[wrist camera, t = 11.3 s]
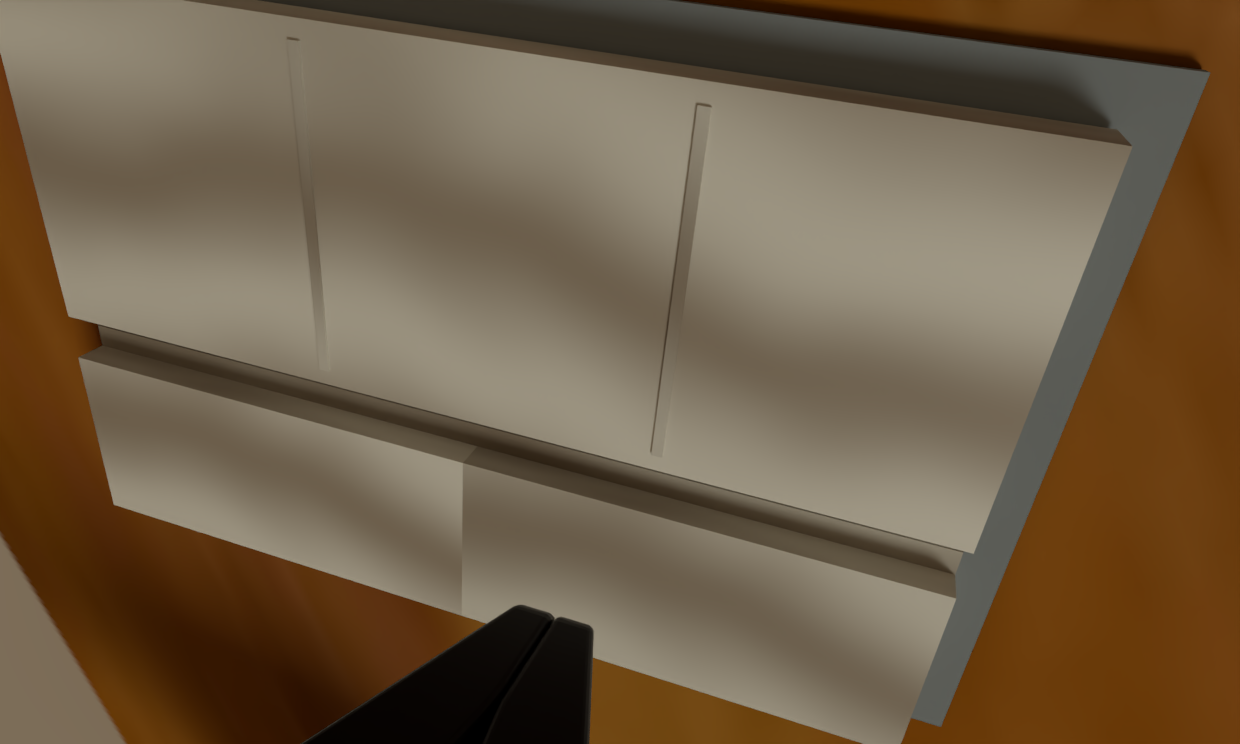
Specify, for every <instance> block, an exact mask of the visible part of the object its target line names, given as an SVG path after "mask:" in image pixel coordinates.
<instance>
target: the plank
mask: <svg viewBox="0 0 1240 744" xmlns="http://www.w3.org/2000/svg"><path fill="white" fill-rule="evenodd" d="M0 53H1V57H2V61H3V64H4V68H5V72H6V76H7V80H8V84H9V88H10V92H11V95H12V99H13V103H14V107H15V111H16V115H17V119H18V123H19V126H20V130H21V134H22V138H23V142H24V146H25V150H26V154H27V157H28V161H29V165H30V169H31V173H32V177H33V181H34V184H35V188H36V192H37V196H38V200H39V204H40V208H41V212H42V215H43V219H44V223H45V227H46V231H47V235H48V239H49V243H50V246H51V250H52V254H53V258H54V262H55V266H56V270H57V273H58V277H59V281H60V285H61V289H62V293H63V297H64V301H65V304H66V308H67V312H68V316H69V317H73V318H77V319H80V320H84V321H88V322H92V323H96V324H99V325H103V326H107V327H111V328H115V329H118V330H122V331H126V332H130V333H134V334H138V335H141V336H145V337H149V338H153V339H157V340H160V341H164V342H168V343H172V344H176V345H179V346H183V347H187V348H191V349H195V350H199V351H202V352H206V353H210V354H214V355H218V356H221V357H225V358H229V359H233V360H237V361H240V362H244V363H248V364H252V365H256V366H259V367H263V368H267V369H271V370H275V371H279V372H282V373H286V374H290V375H294V376H298V377H301V378H305V379H309V380H313V381H317V382H320V383H324V384H328V385H332V386H336V387H340V388H343V389H347V390H351V391H355V392H359V393H362V394H366V395H370V396H374V397H378V398H381V399H385V400H389V401H393V402H397V403H401V404H404V405H408V406H412V407H416V408H420V409H423V410H427V411H431V412H435V413H439V414H442V415H446V416H450V417H454V418H458V419H462V420H465V421H469V422H473V423H477V424H481V425H484V426H488V427H492V428H496V429H500V430H503V431H507V432H511V433H515V434H519V435H523V436H526V437H530V438H534V439H538V440H542V441H545V442H549V443H553V444H557V445H561V446H564V447H568V448H572V449H576V450H580V451H584V452H587V453H591V454H595V455H599V456H603V457H606V458H610V459H614V460H618V461H622V462H625V463H629V464H633V465H637V466H641V467H645V468H648V469H652V470H656V471H660V472H664V473H667V474H671V475H675V476H679V477H683V478H686V479H690V480H694V481H698V482H702V483H706V484H709V485H713V486H717V487H721V488H725V489H728V490H732V491H736V492H740V493H744V494H747V495H751V496H755V497H759V498H763V499H767V500H770V501H774V502H778V503H782V504H786V505H789V506H793V507H797V508H801V509H805V510H808V511H812V512H816V513H820V514H824V515H827V516H831V517H835V518H839V519H843V520H847V521H850V522H854V523H858V524H862V525H866V526H869V527H873V528H877V529H881V530H885V531H888V532H892V533H896V534H900V535H904V536H908V537H911V538H915V539H919V540H923V541H927V542H930V543H934V544H938V545H942V546H946V547H949V548H953V549H957V550H961V551H965V552H969V553H972V554H974V552H975V549H976V547H977V544H978V541H979V539H980V536H981V534H982V531H983V529H984V526H985V524H986V521H987V518H988V516H989V513H990V511H991V508H992V506H993V503H994V500H995V498H996V495H997V493H998V490H999V488H1000V485H1001V483H1002V480H1003V477H1004V475H1005V472H1006V470H1007V467H1008V465H1009V462H1010V459H1011V457H1012V454H1013V452H1014V449H1015V447H1016V444H1017V442H1018V439H1019V436H1020V434H1021V431H1022V429H1023V426H1024V424H1025V421H1026V418H1027V416H1028V413H1029V411H1030V408H1031V406H1032V403H1033V401H1034V398H1035V395H1036V393H1037V390H1038V388H1039V385H1040V383H1041V380H1042V378H1043V375H1044V372H1045V370H1046V367H1047V365H1048V362H1049V360H1050V357H1051V354H1052V352H1053V349H1054V347H1055V344H1056V342H1057V339H1058V337H1059V334H1060V331H1061V329H1062V326H1063V324H1064V321H1065V319H1066V316H1067V313H1068V311H1069V308H1070V306H1071V303H1072V301H1073V298H1074V296H1075V293H1076V290H1077V288H1078V285H1079V283H1080V280H1081V278H1082V275H1083V272H1084V270H1085V267H1086V265H1087V262H1088V260H1089V257H1090V255H1091V252H1092V249H1093V247H1094V244H1095V242H1096V239H1097V237H1098V234H1099V232H1100V229H1101V226H1102V224H1103V221H1104V219H1105V216H1106V214H1107V211H1108V208H1109V206H1110V203H1111V201H1112V198H1113V196H1114V193H1115V191H1116V188H1117V185H1118V183H1119V180H1120V178H1121V175H1122V173H1123V170H1124V167H1125V165H1126V162H1127V160H1128V157H1129V155H1130V152H1131V150H1132V147H1133V146H1132V145H1131V144H1130V143H1129V142H1128V141H1127V139H1126V138H1125V137H1124V136H1123V135H1122V134H1121V133H1120V132H1119V131H1118V130H1117V129H1111V128H1104V127H1097V126H1091V125H1084V124H1077V123H1071V122H1064V121H1057V120H1051V119H1044V118H1038V117H1031V116H1024V115H1018V114H1011V113H1004V112H998V111H991V110H984V109H978V108H971V107H964V106H958V105H951V104H944V103H938V102H931V101H924V100H918V99H911V98H904V97H898V96H891V95H885V94H878V93H871V92H865V91H858V90H851V89H845V88H838V87H831V86H825V85H818V84H811V83H805V82H798V81H791V80H785V79H778V78H771V77H765V76H758V75H751V74H745V73H738V72H732V71H725V70H718V69H712V68H705V67H698V66H692V65H685V64H678V63H672V62H665V61H658V60H652V59H645V58H638V57H632V56H625V55H618V54H612V53H605V52H598V51H592V50H585V49H579V48H572V47H565V46H559V45H552V44H545V43H539V42H532V41H525V40H519V39H512V38H505V37H499V36H492V35H485V34H479V33H472V32H465V31H459V30H452V29H445V28H439V27H432V26H426V25H419V24H412V23H406V22H399V21H392V20H386V19H379V18H372V17H366V16H359V15H352V14H346V13H339V12H332V11H326V10H319V9H312V8H306V7H299V6H292V5H286V4H279V3H273V2H266V1H259V0H0Z"/></svg>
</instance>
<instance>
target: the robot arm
mask: <svg viewBox="0 0 1240 744" xmlns="http://www.w3.org/2000/svg"><path fill="white" fill-rule="evenodd" d="M593 641H594V631H593V628H592V627H591V626H590V625H588V624H585V623H581V622H578V621H575V620H572V619H568V618H565V617H557V618H556V619H555V618H554V616H553V615H552V614H551V613H549V612H546V611H542V610H539V609H536V608H532V607H529V606H526V605H516V606H513V607H512V608H510V609H508V610H507V611H505V612H504V613H502V614H501V615H499V616H498V617H496V618H494V619H493V620H491V621H490V622H488V623H487V624H485V625H484V626H482V627H481V628H479V629H477V630H476V631H474V632H473V633H471V634H470V635H468V636H467V637H465V638H464V639H462V640H460V641H459V642H457V643H456V644H454V645H453V646H451V647H450V648H448V649H447V650H445V651H443V652H442V653H440V654H439V655H437V656H436V657H434V658H433V659H431V660H429V661H428V662H426V663H425V664H423V665H422V666H420V667H419V668H417V669H416V670H414V671H412V672H411V673H409V674H408V675H406V676H405V677H403V678H402V679H400V680H399V681H397V682H395V683H394V684H392V685H391V686H389V687H388V688H386V689H385V690H383V691H382V692H380V693H378V694H377V695H375V696H374V697H372V698H371V699H369V700H368V701H366V702H365V703H363V704H361V705H360V706H358V707H357V708H355V709H354V710H352V711H351V712H349V713H347V714H346V715H344V716H343V717H341V718H340V719H338V720H337V721H335V722H334V723H332V724H330V725H329V726H327V727H326V728H324V729H323V730H321V731H320V732H318V733H317V734H315V735H313V736H312V737H310V738H309V739H307V740H306V741H304V742H303V743H301V744H589V735H590V712H591V688H592V664H593Z"/></svg>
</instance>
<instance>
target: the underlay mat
mask: <svg viewBox="0 0 1240 744" xmlns="http://www.w3.org/2000/svg"><path fill="white" fill-rule="evenodd" d="M259 1H266V2H273V3H279V4H286V5H292V6H299V7H306V8H312V9H319V10H326V11H332V12H339V13H346V14H352V15H359V16H366V17H372V18H379V19H386V20H392V21H399V22H406V23H412V24H419V25H426V26H432V27H439V28H445V29H452V30H459V31H465V32H472V33H479V34H485V35H492V36H499V37H505V38H512V39H519V40H525V41H532V42H539V43H545V44H552V45H559V46H565V47H572V48H579V49H585V50H592V51H598V52H605V53H612V54H618V55H625V56H632V57H638V58H645V59H652V60H658V61H665V62H672V63H678V64H685V65H692V66H698V67H705V68H712V69H718V70H725V71H732V72H738V73H745V74H751V75H758V76H765V77H771V78H778V79H785V80H791V81H798V82H805V83H811V84H818V85H825V86H831V87H838V88H845V89H851V90H858V91H865V92H871V93H878V94H885V95H891V96H898V97H904V98H911V99H918V100H924V101H931V102H938V103H944V104H951V105H958V106H964V107H971V108H978V109H984V110H991V111H998V112H1004V113H1011V114H1018V115H1024V116H1031V117H1038V118H1044V119H1051V120H1057V121H1064V122H1071V123H1077V124H1084V125H1091V126H1097V127H1104V128H1111V129H1117V130H1118V131H1119V132H1120V133H1121V134H1122V135H1123V136H1124V137H1125V138H1126V139H1127V141H1128V142H1129V143H1130V144H1131V145H1132V146H1133V147H1132V150H1131V152H1130V155H1129V157H1128V160H1127V162H1126V165H1125V167H1124V170H1123V173H1122V175H1121V178H1120V180H1119V183H1118V185H1117V188H1116V191H1115V193H1114V196H1113V198H1112V201H1111V203H1110V206H1109V208H1108V211H1107V214H1106V216H1105V219H1104V221H1103V224H1102V226H1101V229H1100V232H1099V234H1098V237H1097V239H1096V242H1095V244H1094V247H1093V249H1092V252H1091V255H1090V257H1089V260H1088V262H1087V265H1086V267H1085V270H1084V272H1083V275H1082V278H1081V280H1080V283H1079V285H1078V288H1077V290H1076V293H1075V296H1074V298H1073V301H1072V303H1071V306H1070V308H1069V311H1068V313H1067V316H1066V319H1065V321H1064V324H1063V326H1062V329H1061V331H1060V334H1059V337H1058V339H1057V342H1056V344H1055V347H1054V349H1053V352H1052V354H1051V357H1050V360H1049V362H1048V365H1047V367H1046V370H1045V372H1044V375H1043V378H1042V380H1041V383H1040V385H1039V388H1038V390H1037V393H1036V395H1035V398H1034V401H1033V403H1032V406H1031V408H1030V411H1029V413H1028V416H1027V418H1026V421H1025V424H1024V426H1023V429H1022V431H1021V434H1020V436H1019V439H1018V442H1017V444H1016V447H1015V449H1014V452H1013V454H1012V457H1011V459H1010V462H1009V465H1008V467H1007V470H1006V472H1005V475H1004V477H1003V480H1002V483H1001V485H1000V488H999V490H998V493H997V495H996V498H995V500H994V503H993V506H992V508H991V511H990V513H989V516H988V518H987V521H986V524H985V526H984V529H983V531H982V534H981V536H980V539H979V541H978V544H977V547H976V549H975V552H974V554H972V553H969V552H965V551H963V555H962V558H961V561H960V563H959V566H958V569H957V571H956V574H955V581H956V601H955V604H954V606H953V609H952V612H951V614H950V617H949V619H948V622H947V625H946V627H945V630H944V632H943V635H942V638H941V640H940V643H939V645H938V648H937V651H936V653H935V656H934V658H933V661H932V664H931V666H930V669H929V671H928V674H927V677H926V679H925V682H924V684H923V687H922V690H921V692H920V695H919V697H918V700H917V703H916V705H915V708H914V711H913V713H912V716H911V718H914V719H917V720H920V721H923V722H927V723H930V724H933V725H936V726H940V727H941V725H942V723H943V720H944V718H945V715H946V713H947V710H948V708H949V706H950V703H951V701H952V698H953V696H954V693H955V691H956V689H957V686H958V684H959V681H960V679H961V676H962V674H963V672H964V669H965V667H966V664H967V662H968V659H969V657H970V655H971V652H972V650H973V647H974V645H975V642H976V640H977V638H978V635H979V633H980V630H981V628H982V625H983V623H984V621H985V618H986V616H987V613H988V611H989V608H990V606H991V604H992V601H993V599H994V596H995V594H996V592H997V589H998V587H999V584H1000V582H1001V579H1002V577H1003V575H1004V572H1005V570H1006V567H1007V565H1008V562H1009V560H1010V558H1011V555H1012V553H1013V550H1014V548H1015V545H1016V543H1017V541H1018V538H1019V536H1020V533H1021V531H1022V528H1023V526H1024V524H1025V521H1026V519H1027V516H1028V514H1029V511H1030V509H1031V507H1032V504H1033V502H1034V499H1035V497H1036V494H1037V492H1038V490H1039V487H1040V485H1041V482H1042V480H1043V478H1044V475H1045V473H1046V470H1047V468H1048V465H1049V463H1050V461H1051V458H1052V456H1053V453H1054V451H1055V448H1056V446H1057V444H1058V441H1059V439H1060V436H1061V434H1062V431H1063V429H1064V427H1065V424H1066V422H1067V419H1068V417H1069V414H1070V412H1071V410H1072V407H1073V405H1074V402H1075V400H1076V397H1077V395H1078V393H1079V390H1080V388H1081V385H1082V383H1083V380H1084V378H1085V376H1086V373H1087V371H1088V368H1089V366H1090V363H1091V361H1092V359H1093V356H1094V354H1095V351H1096V349H1097V347H1098V344H1099V342H1100V339H1101V337H1102V334H1103V332H1104V330H1105V327H1106V325H1107V322H1108V320H1109V317H1110V315H1111V313H1112V310H1113V308H1114V305H1115V303H1116V300H1117V298H1118V296H1119V293H1120V291H1121V288H1122V286H1123V283H1124V281H1125V279H1126V276H1127V274H1128V271H1129V269H1130V266H1131V264H1132V262H1133V259H1134V257H1135V254H1136V252H1137V249H1138V247H1139V245H1140V242H1141V240H1142V237H1143V235H1144V232H1145V230H1146V228H1147V225H1148V223H1149V220H1150V218H1151V216H1152V213H1153V211H1154V208H1155V206H1156V203H1157V201H1158V199H1159V196H1160V194H1161V191H1162V189H1163V186H1164V184H1165V182H1166V179H1167V177H1168V174H1169V172H1170V169H1171V167H1172V165H1173V162H1174V160H1175V157H1176V155H1177V152H1178V150H1179V148H1180V145H1181V143H1182V140H1183V138H1184V135H1185V133H1186V131H1187V128H1188V126H1189V123H1190V121H1191V118H1192V116H1193V114H1194V111H1195V109H1196V106H1197V104H1198V102H1199V99H1200V97H1201V94H1202V92H1203V89H1204V87H1205V85H1206V82H1207V80H1208V77H1209V75H1210V72H1208V71H1206V70H1200V69H1193V68H1185V67H1178V66H1170V65H1163V64H1155V63H1148V62H1140V61H1133V60H1125V59H1118V58H1110V57H1103V56H1095V55H1088V54H1080V53H1073V52H1065V51H1058V50H1050V49H1043V48H1035V47H1027V46H1020V45H1012V44H1005V43H997V42H990V41H982V40H975V39H967V38H960V37H952V36H945V35H937V34H930V33H922V32H915V31H907V30H900V29H892V28H885V27H877V26H870V25H862V24H855V23H847V22H840V21H832V20H825V19H817V18H810V17H802V16H795V15H787V14H780V13H772V12H765V11H757V10H750V9H742V8H734V7H727V6H719V5H712V4H704V3H697V2H689V1H682V0H259Z"/></svg>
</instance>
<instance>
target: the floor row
mask: <svg viewBox="0 0 1240 744" xmlns="http://www.w3.org/2000/svg"><path fill="white" fill-rule="evenodd" d="M98 328H99V332H100V337H101V341H102V346H100V347H98V348H96V349H94V350H92V351H90V352H88V353H86V354H84V355H82V356H80V357H78V358H79V362H80V366H81V370H82V374H83V378H84V383H85V387H86V391H87V395H88V399H89V403H90V408H91V412H92V416H93V420H94V424H95V428H96V432H97V437H98V441H99V445H100V449H101V453H102V457H103V462H104V466H105V470H106V474H107V478H108V482H109V487H110V491H111V495H112V499H113V503H114V505H116V506H120V507H123V508H126V509H129V510H132V511H135V512H138V513H142V514H145V515H148V516H151V517H154V518H157V519H160V520H163V521H167V522H170V523H173V524H176V525H179V526H182V527H185V528H189V529H192V530H195V531H198V532H201V533H204V534H207V535H211V536H214V537H217V538H220V539H223V540H226V541H229V542H232V543H236V544H239V545H242V546H245V547H248V548H251V549H254V550H258V551H261V552H264V553H267V554H270V555H273V556H276V557H280V558H283V559H286V560H289V561H292V562H295V563H298V564H301V565H305V566H308V567H311V568H314V569H317V570H320V571H323V572H327V573H330V574H333V575H336V576H339V577H342V578H345V579H349V580H352V581H355V582H358V583H361V584H364V585H367V586H370V587H374V588H377V589H380V590H383V591H386V592H389V593H392V594H396V595H399V596H402V597H405V598H408V599H411V600H414V601H418V602H421V603H424V604H427V605H430V606H433V607H436V608H439V609H443V610H446V611H449V612H452V613H455V614H458V615H461V616H465V617H468V618H471V619H474V620H477V621H480V622H483V623H488V622H490V621H491V620H493V619H494V618H496V617H498V616H499V615H501V614H502V613H504V612H505V611H507V610H508V609H510V608H512V607H513V606H516V605H526V606H529V607H532V608H536V609H539V610H542V611H546V612H549V613H551V614H552V615H553V616H554V618H555V619H556V618H557V617H565V618H568V619H572V620H575V621H578V622H581V623H585V624H588V625H590V626H591V627H592V628H593V631H594V641H593V658H596V659H599V660H603V661H606V662H609V663H612V664H615V665H618V666H621V667H625V668H628V669H631V670H634V671H637V672H640V673H643V674H647V675H650V676H653V677H656V678H659V679H662V680H665V681H668V682H672V683H675V684H678V685H681V686H684V687H687V688H690V689H694V690H697V691H700V692H703V693H706V694H709V695H712V696H716V697H719V698H722V699H725V700H728V701H731V702H734V703H737V704H741V705H744V706H747V707H750V708H753V709H756V710H759V711H763V712H766V713H769V714H772V715H775V716H778V717H781V718H785V719H788V720H791V721H794V722H797V723H800V724H803V725H806V726H810V727H813V728H816V729H819V730H822V731H825V732H828V733H832V734H835V735H838V736H841V737H844V738H847V739H850V740H854V741H857V742H860V743H863V744H901V742H902V739H903V737H904V734H905V731H906V729H907V726H908V724H909V721H910V718H911V716H912V713H913V711H914V708H915V705H916V703H917V700H918V697H919V695H920V692H921V690H922V687H923V684H924V682H925V679H926V677H927V674H928V671H929V669H930V666H931V664H932V661H933V658H934V656H935V653H936V651H937V648H938V645H939V643H940V640H941V638H942V635H943V632H944V630H945V627H946V625H947V622H948V619H949V617H950V614H951V612H952V609H953V606H954V604H955V601H956V581H955V574H956V571H957V569H958V566H959V563H960V561H961V558H962V555H963V551H961V550H957V549H953V548H949V547H946V546H942V545H938V544H934V543H930V542H927V541H923V540H919V539H915V538H911V537H908V536H904V535H900V534H896V533H892V532H888V531H885V530H881V529H877V528H873V527H869V526H866V525H862V524H858V523H854V522H850V521H847V520H843V519H839V518H835V517H831V516H827V515H824V514H820V513H816V512H812V511H808V510H805V509H801V508H797V507H793V506H789V505H786V504H782V503H778V502H774V501H770V500H767V499H763V498H759V497H755V496H751V495H747V494H744V493H740V492H736V491H732V490H728V489H725V488H721V487H717V486H713V485H709V484H706V483H702V482H698V481H694V480H690V479H686V478H683V477H679V476H675V475H671V474H667V473H664V472H660V471H656V470H652V469H648V468H645V467H641V466H637V465H633V464H629V463H625V462H622V461H618V460H614V459H610V458H606V457H603V456H599V455H595V454H591V453H587V452H584V451H580V450H576V449H572V448H568V447H564V446H561V445H557V444H553V443H549V442H545V441H542V440H538V439H534V438H530V437H526V436H523V435H519V434H515V433H511V432H507V431H503V430H500V429H496V428H492V427H488V426H484V425H481V424H477V423H473V422H469V421H465V420H462V419H458V418H454V417H450V416H446V415H442V414H439V413H435V412H431V411H427V410H423V409H420V408H416V407H412V406H408V405H404V404H401V403H397V402H393V401H389V400H385V399H381V398H378V397H374V396H370V395H366V394H362V393H359V392H355V391H351V390H347V389H343V388H340V387H336V386H332V385H328V384H324V383H320V382H317V381H313V380H309V379H305V378H301V377H298V376H294V375H290V374H286V373H282V372H279V371H275V370H271V369H267V368H263V367H259V366H256V365H252V364H248V363H244V362H240V361H237V360H233V359H229V358H225V357H221V356H218V355H214V354H210V353H206V352H202V351H199V350H195V349H191V348H187V347H183V346H179V345H176V344H172V343H168V342H164V341H160V340H157V339H153V338H149V337H145V336H141V335H138V334H134V333H130V332H126V331H122V330H118V329H115V328H111V327H107V326H103V325H98Z"/></svg>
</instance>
